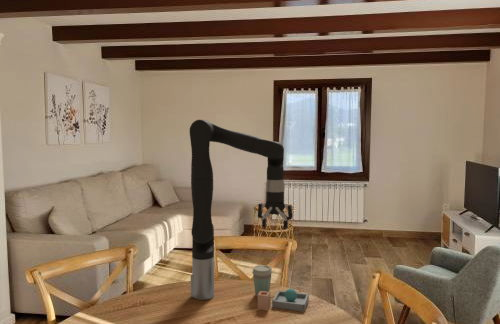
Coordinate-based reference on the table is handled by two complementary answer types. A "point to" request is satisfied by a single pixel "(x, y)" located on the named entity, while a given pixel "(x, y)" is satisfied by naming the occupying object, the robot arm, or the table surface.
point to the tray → (283, 303)
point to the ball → (290, 294)
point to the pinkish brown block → (264, 300)
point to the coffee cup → (262, 278)
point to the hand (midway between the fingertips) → (274, 228)
